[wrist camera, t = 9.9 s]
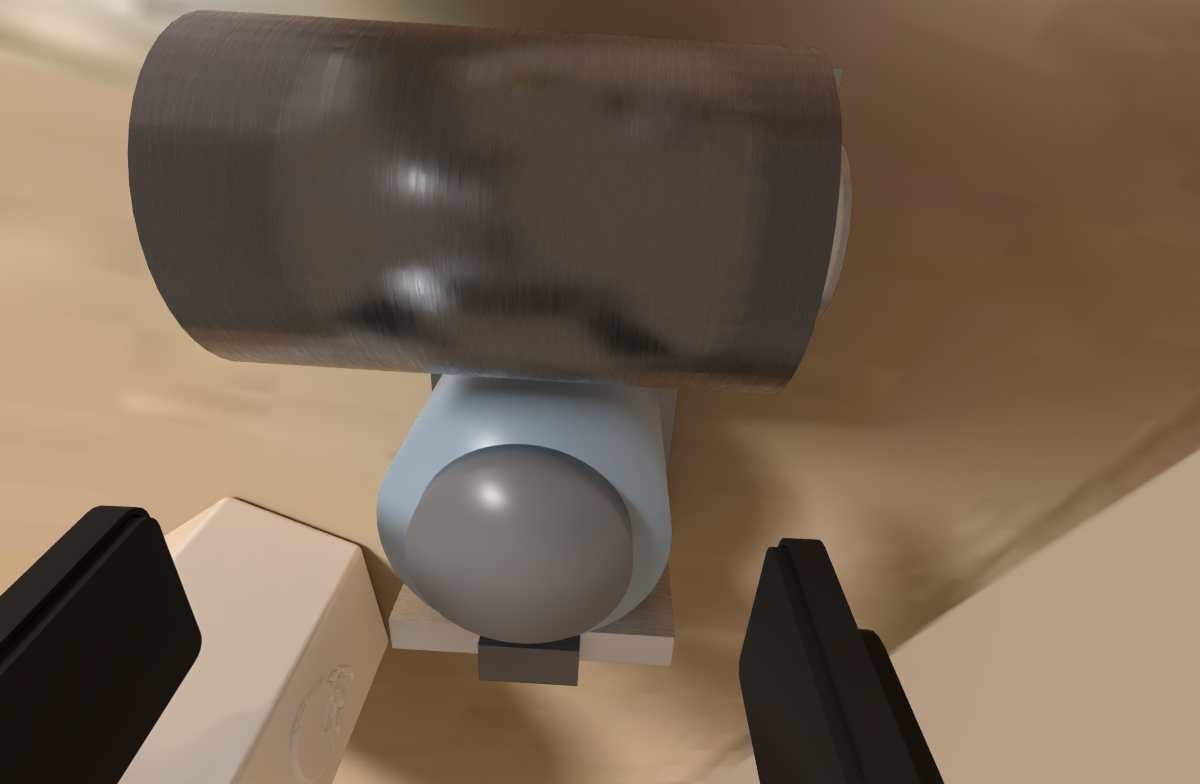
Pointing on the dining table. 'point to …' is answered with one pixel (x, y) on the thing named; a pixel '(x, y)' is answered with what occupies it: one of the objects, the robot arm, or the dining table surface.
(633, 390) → the grey plastic cylinder
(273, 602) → the jar
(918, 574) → the dining table surface
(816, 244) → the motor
